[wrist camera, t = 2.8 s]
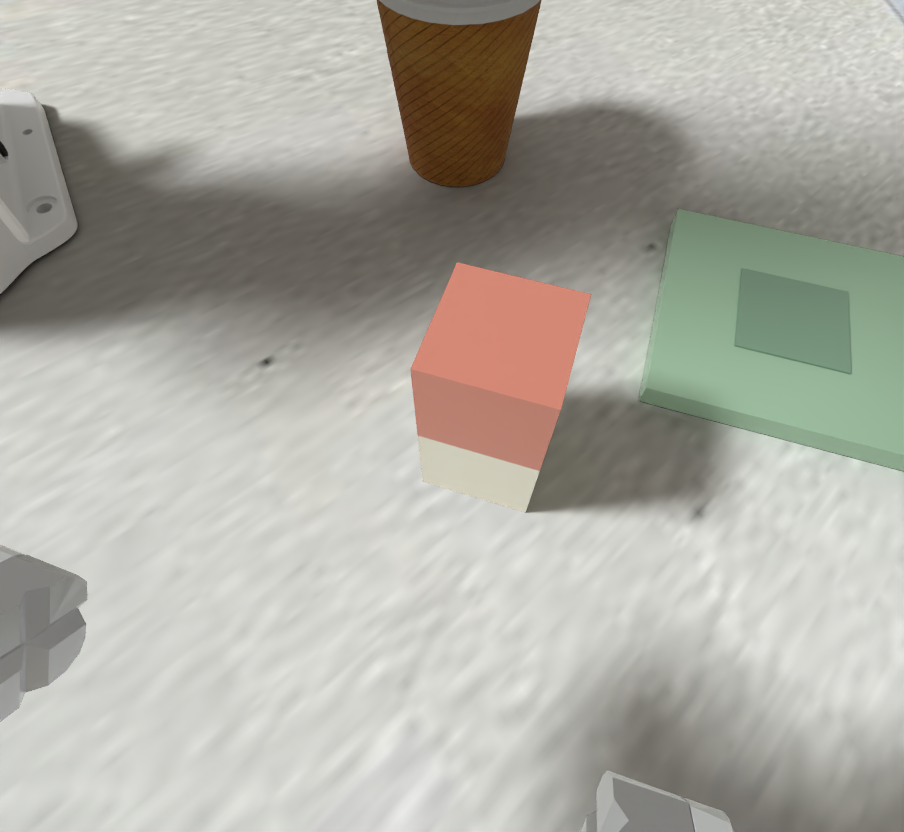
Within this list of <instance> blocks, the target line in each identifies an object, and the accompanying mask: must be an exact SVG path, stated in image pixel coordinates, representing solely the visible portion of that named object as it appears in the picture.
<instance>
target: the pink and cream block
mask: <svg viewBox="0 0 904 832" xmlns="http://www.w3.org/2000/svg"><path fill="white" fill-rule="evenodd" d="M590 297H591V294H588V293H584V292H579V291H575V290H571V289H567V288H563V287H559V286H554V285H550V284H546V283H542V282H538V281H533V280H529V279H525V278H521V277H517V276H513V275H508V274H504V273H500V272H496V271H492V270H487V269H483V268H479V267H475V266H471V265H467V264H462V263H458V262H457V263H456V266H455V268H454V270H453V273H452V275H451V277H450V280H449V282H448V284H447V286H446V289H445V291H444V293H443V296H442V298H441V300H440V303H439V305H438V307H437V309H436V312H435V314H434V316H433V319H432V321H431V323H430V325H429V328H428V330H427V332H426V335H425V337H424V339H423V342H422V344H421V346H420V348H419V351H418V353H417V355H416V358H415V360H414V362H413V364H412V367H411V378H412V387H413V396H414V406H415V415H416V424H417V433H418V443H419V452H420V461H421V470H422V479H423V482H426V483H429V484H433V485H436V486H439V487H442V488H446V489H449V490H452V491H456V492H459V493H462V494H466V495H469V496H472V497H475V498H479V499H482V500H485V501H489V502H492V503H495V504H498V505H502V506H505V507H508V508H512V509H515V510H518V511H521V512H526V510H527V507H528V504H529V501H530V498H531V495H532V492H533V489H534V486H535V483H536V481H537V478H538V475H539V472H540V469H541V466H542V463H543V460H544V457H545V455H546V452H547V449H548V446H549V443H550V440H551V437H552V434H553V431H554V428H555V426H556V423H557V420H558V417H559V414H560V411H561V408H562V404H563V400H564V396H565V392H566V389H567V385H568V381H569V377H570V373H571V369H572V366H573V362H574V358H575V354H576V350H577V347H578V343H579V339H580V335H581V331H582V328H583V324H584V320H585V316H586V312H587V308H588V305H589V301H590Z"/></svg>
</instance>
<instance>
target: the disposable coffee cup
mask: <svg viewBox="0 0 904 832" xmlns="http://www.w3.org/2000/svg"><path fill="white" fill-rule="evenodd" d="M540 4H541V0H377V5H378V10H379V14H380V18H381V23H382V28H383V33H384V36H385V37H384V38H385V42H386V47H387V53H388V58H389V62H390V67H391V71H392V76H393V81H394V86H395V91H396V96H397V100H398V104H399V105H398V106H399V110H400V115H401V120H402V125H403V129H404V134H405V139H406V144H407V149H408V153H409V159H410V163H411V165H412V167H413V169H414V170H415V171H416V172H417V173H418V174H419V175H420V176H422V177H423V178H425V179H427V180H429V181H431V182H433V183H436V184H440V185H445V186H458V187H462V186H470V185H474V184H478V183H481V182H483V181H486V180H488V179H490V178H491V177H493V176H494V175H495V174H496V173H497V172H499V170H500V169H501V167H502V166H503V163H504V160H505V155H506V150H507V146H508V142H509V137H510V133H511V129H512V125H513V120H514V116H515V112H516V107H517V104H518V99H519V95H520V91H521V86H522V82H523V77H524V73H525V69H526V65H527V60H528V56H529V52H530V48H531V43H532V39H533V35H534V30H535V26H536V22H537V17H538V13H539V9H540Z"/></svg>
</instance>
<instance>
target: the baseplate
mask: <svg viewBox="0 0 904 832" xmlns="http://www.w3.org/2000/svg"><path fill="white" fill-rule="evenodd" d="M639 401H641V402H644V403H648V404H652V405H656V406H660V407H663V408H667V409H671V410H675V411H678V412H682V413H686V414H690V415H693V416H697V417H701V418H705V419H709V420H712V421H716V422H720V423H724V424H727V425H731V426H735V427H739V428H742V429H746V430H750V431H754V432H758V433H761V434H765V435H769V436H773V437H776V438H780V439H784V440H788V441H791V442H795V443H799V444H803V445H807V446H810V447H814V448H818V449H822V450H825V451H829V452H833V453H837V454H840V455H844V456H848V457H852V458H856V459H859V460H863V461H867V462H871V463H874V464H878V465H882V466H886V467H889V468H893V469H897V470H901V471H904V256H900V255H895V254H891V253H886V252H881V251H876V250H872V249H867V248H862V247H857V246H853V245H848V244H843V243H839V242H834V241H829V240H824V239H820V238H815V237H810V236H805V235H801V234H796V233H791V232H787V231H782V230H777V229H772V228H768V227H763V226H758V225H753V224H749V223H744V222H739V221H735V220H730V219H725V218H720V217H716V216H711V215H706V214H701V213H697V212H692V211H687V210H683V209H678V210H677V213H676V215H675V217H674V219H673V222H672V224H671V228H670V234H669V239H668V244H667V250H666V255H665V261H664V266H663V271H662V277H661V282H660V288H659V293H658V299H657V304H656V309H655V315H654V320H653V326H652V331H651V336H650V342H649V347H648V353H647V358H646V364H645V369H644V374H643V380H642V385H641V391H640V396H639Z"/></svg>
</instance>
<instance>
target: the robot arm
mask: <svg viewBox="0 0 904 832" xmlns="http://www.w3.org/2000/svg"><path fill="white" fill-rule="evenodd" d="M76 230H77V220H76V217H75V213H74V210H73V206H72V203H71V200H70V196H69V193H68V189H67V186H66V182H65V179H64V176H63V172H62V169H61V165H60V162H59V158H58V155H57V152H56V148H55V145H54V141H53V138H52V134H51V131H50V127H49V124H48V121H47V117H46V114H45V111H44V108H43V107H42V105H41V104H40V103H39V101H38V100H37V99H36V98H35V96H34V95H33V94H31V93H28V92H24V91H19V90H12V89H0V294H1V293H2V292H3V291H4V290H5V289H6V288H7V287H8V286H9V285H10V284H11V283H12V282H13V281H14V280H15V278H16V277H17V276H18V275H19V274H20V273H21V272H22V271H23V270H24V269H25V268H26V267H27V266H28V265H30V264H31V263H32V262H33V261H35V260H36V259H38V258H40V257H41V256H43V255H45V254H47V253H48V252H50V251H52V250H53V249H55V248H56V247H58V246H60V245H61V244H63V243H64V242H65V241H67V240H68V239H69V238H70V237H72V235H73V234H74V233H75V232H76ZM86 600H87V581H85V580H84V579H83V578H81V577H80V576H78V575H76V574H74V573H71V572H69V571H66V570H64V569H61V568H59V567H56V566H54V565H51V564H49V563H46V562H44V561H41V560H39V559H36V558H34V557H31V556H29V555H24V554H22V553H19V552H17V551H14V550H12V549H10V548H7V547H5V546H2V545H0V722H1V721H2V720H4V719H5V718H6V717H7V716H9V715H10V714H11V713H13V712H14V711H15V710H17V709H18V708H19V707H20V704H21V702H22V699H23V697H24V694H25V692H28V691H32V690H35V689H38V688H41V687H44V686H47V685H49V684H50V683H52V682H53V681H54V680H55V679H57V678H58V677H59V676H60V675H62V674H63V673H64V672H65V671H66V670H67V669H68V668H69V666H70V665H71V664H72V662H73V661H74V660H75V658H76V657H77V656H78V654H79V653H80V650H81V648H82V645H83V642H84V639H85V633H86V623H85V621H84V619H83V617H82V615H81V613H80V611H79V609H78V608H79V607H80V606H81V605H82V604H83V603H84V602H85V601H86ZM596 804H597V811H595V812H593V813H591V814H589V815H587V816H586V818H585V821H584V824H583V827H582V829H581V832H733V829H732V825H731V822H730V819H729V818H728V817H727V815H726V814H725V812H724V811H721V810H718V809H716V808H713V807H710V806H707V805H704V804H701V803H699V802H696V801H693V800H690V799H687V798H681V797H680V796H678V795H675V794H672V793H670V792H667V791H664V790H661V789H658V788H656V787H653V786H650V785H647V784H644V783H642V782H639V781H636V780H633V779H631V778H628V777H625V776H622V775H619V774H617V773H614V772H611V771H608V770H607V771H606V773H605V774H604V775H603V776H602V778H601V781H600V783H599V786H598V788H597V790H596Z"/></svg>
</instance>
